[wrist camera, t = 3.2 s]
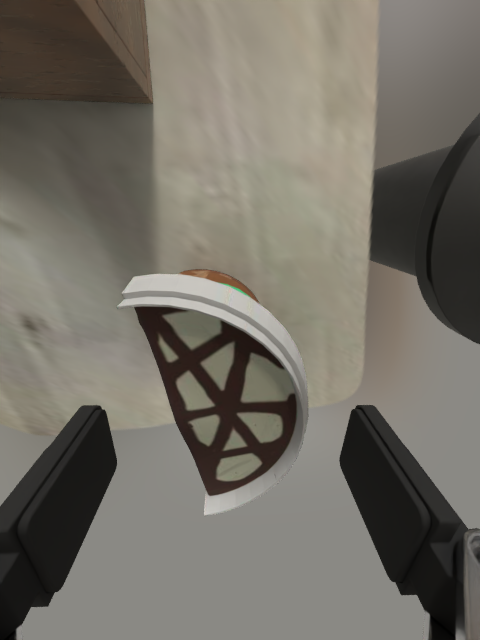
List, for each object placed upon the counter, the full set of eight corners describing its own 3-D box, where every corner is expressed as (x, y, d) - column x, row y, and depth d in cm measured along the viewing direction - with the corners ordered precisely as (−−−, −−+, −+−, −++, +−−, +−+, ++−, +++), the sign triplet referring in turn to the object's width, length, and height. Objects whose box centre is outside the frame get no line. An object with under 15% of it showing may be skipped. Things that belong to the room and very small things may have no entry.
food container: (289, 380, 22) (329, 505, 12) (219, 392, 22) (207, 523, 13) (266, 230, 17) (303, 251, 8) (177, 249, 17) (109, 291, 8)
